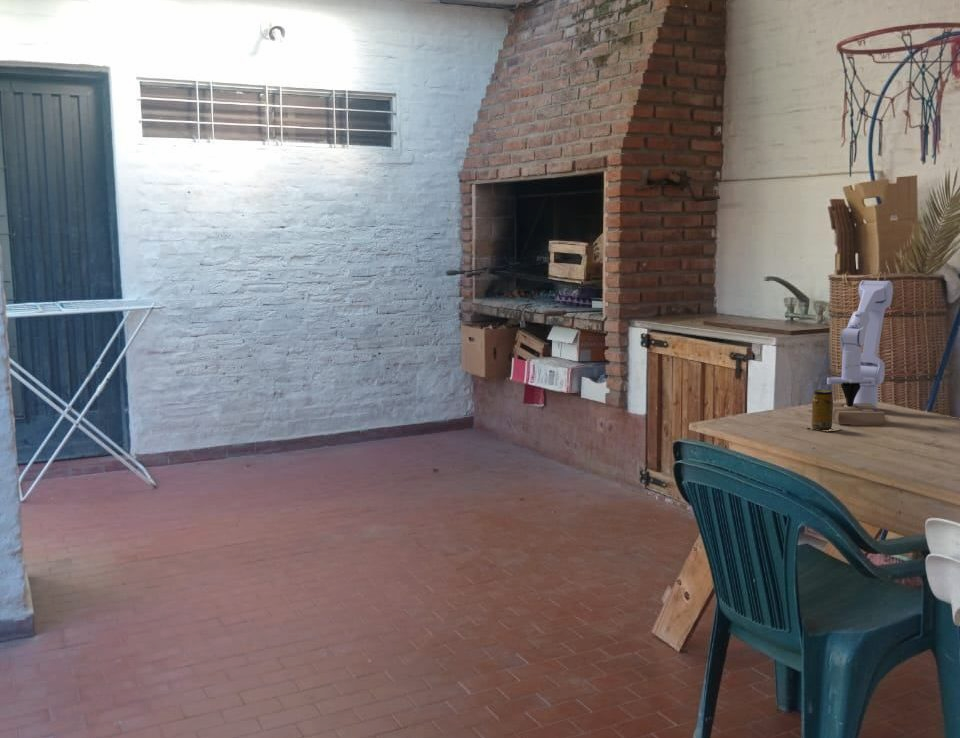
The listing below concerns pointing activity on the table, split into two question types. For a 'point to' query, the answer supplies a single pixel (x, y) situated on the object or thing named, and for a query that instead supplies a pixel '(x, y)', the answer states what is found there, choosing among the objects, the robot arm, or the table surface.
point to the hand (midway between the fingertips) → (849, 406)
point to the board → (858, 414)
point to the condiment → (822, 410)
